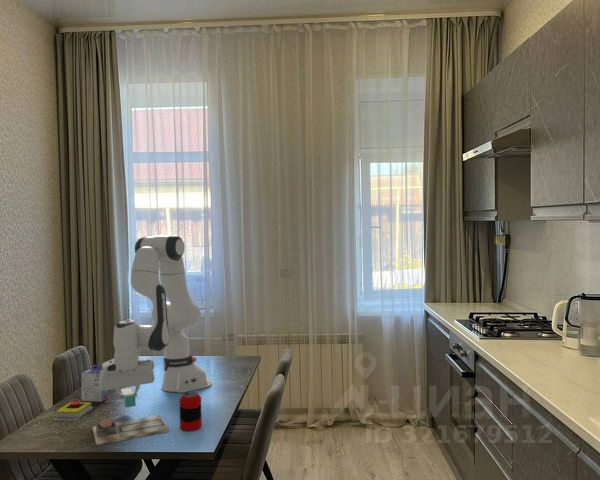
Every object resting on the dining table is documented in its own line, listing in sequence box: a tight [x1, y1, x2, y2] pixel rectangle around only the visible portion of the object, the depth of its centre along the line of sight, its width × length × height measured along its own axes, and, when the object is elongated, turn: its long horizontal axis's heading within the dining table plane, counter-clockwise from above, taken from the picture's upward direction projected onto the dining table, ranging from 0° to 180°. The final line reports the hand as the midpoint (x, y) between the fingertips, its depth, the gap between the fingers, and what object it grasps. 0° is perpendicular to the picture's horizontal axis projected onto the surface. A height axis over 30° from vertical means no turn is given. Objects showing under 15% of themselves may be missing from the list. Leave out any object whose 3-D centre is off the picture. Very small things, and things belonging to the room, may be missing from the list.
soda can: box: [179, 391, 202, 432], centre depth 185 cm, size 8×8×12 cm
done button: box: [99, 418, 113, 429], centre depth 179 cm, size 4×4×3 cm
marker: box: [120, 387, 137, 408], centre depth 198 cm, size 4×12×4 cm, turn 27°
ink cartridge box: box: [81, 364, 110, 403], centre depth 218 cm, size 10×6×14 cm, turn 78°
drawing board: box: [91, 415, 170, 446], centre depth 183 cm, size 24×16×3 cm, turn 117°
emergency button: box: [52, 400, 94, 422], centre depth 201 cm, size 9×4×15 cm
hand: (128, 397), depth 198 cm, fingers closed on marker, 4 cm apart
